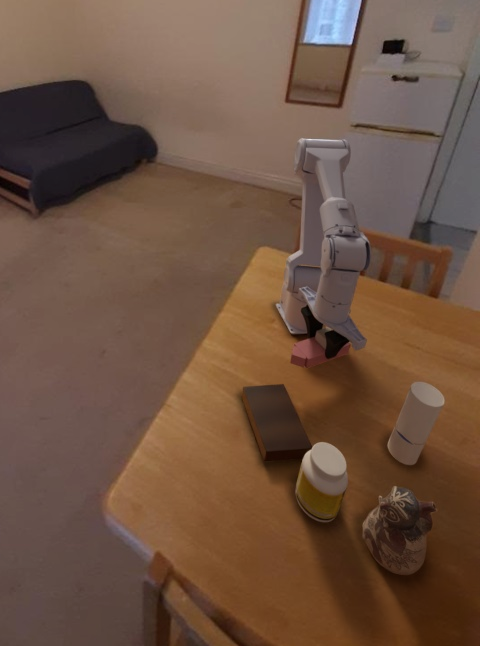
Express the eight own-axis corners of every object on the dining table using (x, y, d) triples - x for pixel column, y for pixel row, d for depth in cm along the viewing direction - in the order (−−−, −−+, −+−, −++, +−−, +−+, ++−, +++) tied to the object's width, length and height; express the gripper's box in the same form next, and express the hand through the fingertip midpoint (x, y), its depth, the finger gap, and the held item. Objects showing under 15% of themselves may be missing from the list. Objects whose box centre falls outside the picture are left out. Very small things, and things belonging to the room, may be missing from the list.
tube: (413, 443, 70) (439, 385, 64) (420, 468, 67) (448, 410, 60) (384, 435, 72) (407, 378, 65) (390, 460, 68) (415, 402, 61)
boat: (332, 338, 83) (337, 321, 81) (348, 353, 79) (353, 336, 77) (283, 355, 79) (286, 338, 77) (297, 371, 76) (301, 354, 74)
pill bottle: (342, 528, 60) (359, 486, 55) (298, 519, 61) (310, 477, 56) (331, 482, 65) (345, 440, 61) (291, 474, 67) (301, 433, 62)
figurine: (361, 505, 62) (380, 459, 57) (416, 529, 59) (441, 483, 54) (363, 559, 57) (384, 513, 51) (424, 588, 54) (452, 544, 48)
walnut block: (241, 396, 79) (242, 386, 78) (281, 393, 80) (283, 383, 78) (264, 462, 69) (266, 451, 67) (310, 458, 69) (313, 448, 67)
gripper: (387, 315, 68) (369, 371, 74) (323, 265, 80) (311, 316, 86) (354, 327, 66) (338, 383, 72) (293, 273, 78) (284, 324, 84)
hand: (321, 347), depth 79 cm, fingers closed on boat, 4 cm apart
